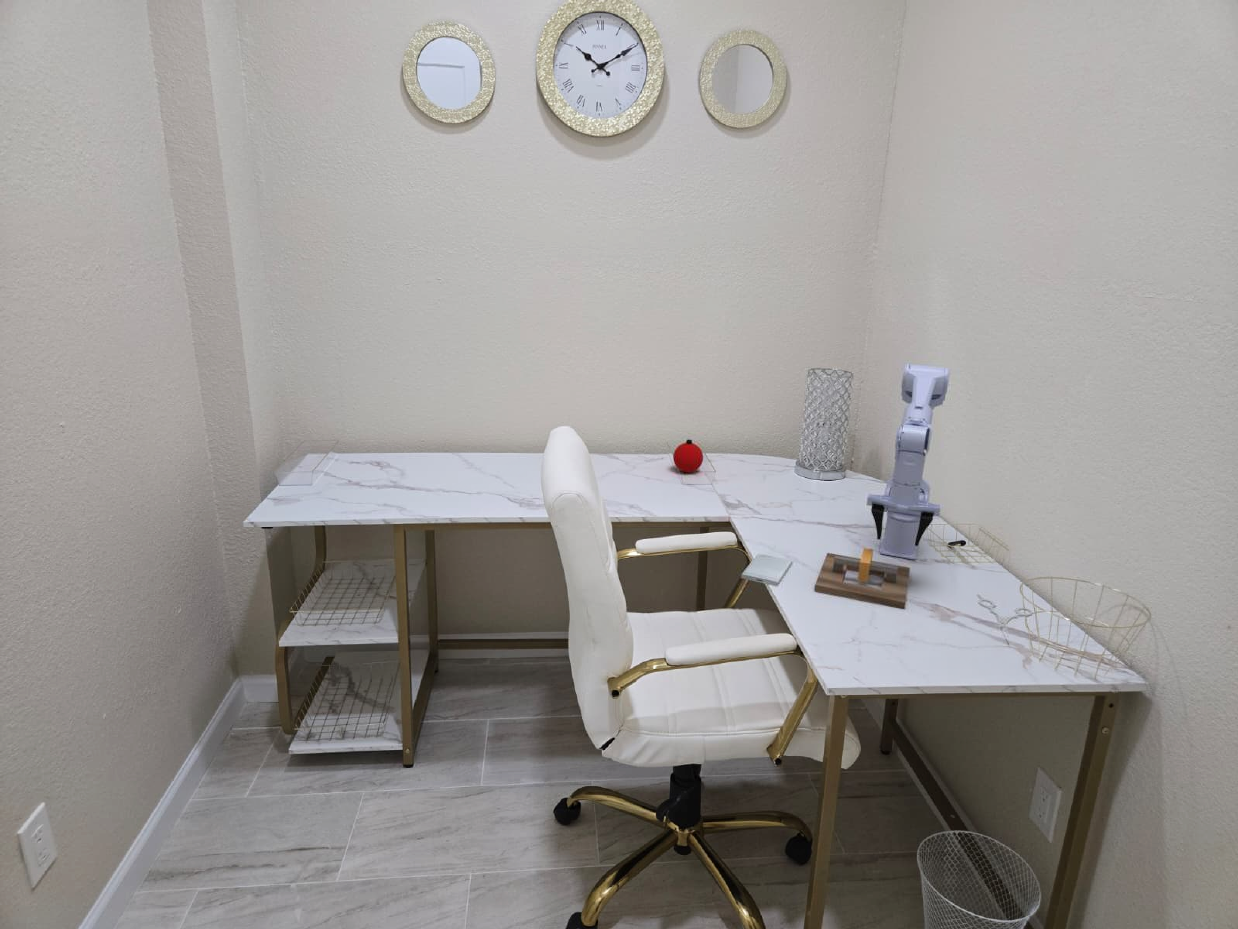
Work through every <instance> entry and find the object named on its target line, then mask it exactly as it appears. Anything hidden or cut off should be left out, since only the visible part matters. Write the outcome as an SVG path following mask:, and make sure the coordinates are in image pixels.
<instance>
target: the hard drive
mask: <svg viewBox="0 0 1238 929" xmlns="http://www.w3.org/2000/svg"><path fill="white" fill-rule="evenodd" d="M793 563H794V561H793V560H792V559H788V558H782V557H777V556H772V555H768V554H764V553H763V554H762V553H757V554H756V556H755V557H754V558H753V559H752V560H751V562H750V563H749V565H747V567H746V568H745V569H744V571H743V572H742V573H741V575H740V579H743V580H749V581H752V582H756V583H761V584H766V585H769V586H770V585H771V586H774V587H779V586H780V584H781V583H782V581H783V580H782V579H784V578H785V577H784V576H786V575H787V574H786V573H788V572H789V571H790V569H791V568H790V567H792V566H793ZM791 565H792V566H791ZM789 568H790V569H789ZM788 570H789V571H788ZM764 582H765V583H764ZM780 582H781V583H780ZM778 585H779V586H778Z"/></svg>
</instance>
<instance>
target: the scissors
mask: <svg viewBox="0 0 1238 929" xmlns="http://www.w3.org/2000/svg"><path fill="white" fill-rule="evenodd" d="M976 596H977V597H978V599H979V600H978V604H979V605H980V606H981V607H983V608H985V609H987V610H989V611H990V613H991V614H993V615H995V616H996V619H997V624H998V623H1001V624H1002V625H1001V624H1000V625H998V626H999V627H1000V626H1005V627H1006V629H1005V628H1003V630H1007V633H1008V634H1009V631H1008V626H1007V624H1008V623H1009V622H1010V621H1011V620H1012V619H1013V620H1014V619H1018V618H1019V617H1025V614H1026V613H1021V612H1020V611H1027V612H1029V613H1027V614H1026V616H1027V617H1032V616H1033V615H1034V612H1033V610H1031V609H1029V608H1028V607H1017V608H1015V609H1014V612H1015V615H1011V616H1005V617H1002V616H1001V615H1000V614H999V613H998V612H996V611H995V610H994V608H996V607H997V605H996V603H995V602H993V601H991V600H989V599H985V598H984V597H982V595H981V594H976ZM982 602H986V603H989V604H991V605H985V604H983V603H982ZM992 630H994V628H992ZM1007 637H1008V638H1009V635H1008V636H1007Z"/></svg>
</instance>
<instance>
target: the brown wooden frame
mask: <svg viewBox="0 0 1238 929" xmlns="http://www.w3.org/2000/svg"><path fill="white" fill-rule="evenodd" d="M835 556H839V557H845V558H850V559H856V560H861V557H860V558H859V557H853V556H849V555H848V556H847V555H842V554H836V553H832V552H831V553H830V552H827V553H826V556H825V558H824V561H823V564H822V566H821V568H820V571H819V573H818V575H817V579H816V582H815V584H814V592H817V593H821V592H822V593H821V594H827V595H830V596H831V595H832V596H836V597H842V598H847V599H852V600H857V601H862V602H868V603H872V604H877V605H883V606H887V607H892V608H898V609H903V610H905V607H906V600H907V592H908V585H909V578H910V571H911V567H910V566H903V565H896V564H893V563H886V562H880V561H875V560H872V562H873V563H878V564H884V565H889V566H895V567H898V569H897V576H896V582H895V584H894V583H888V582H885V581H886V574H887V573H886V572H881V571H875V570H870V571H869V575H875V576H879V577H883V579H882V585H881V588H876V587H872V586H866V585H860V584H855V583H850V582H844V580H845V576H846V573H847V571H851V570H852V572H858V573H859V567H853V566H848V565H844V567H843V572H842V574H841V573H835V572H833V564H834V558H835ZM847 569H848V570H847Z"/></svg>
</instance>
